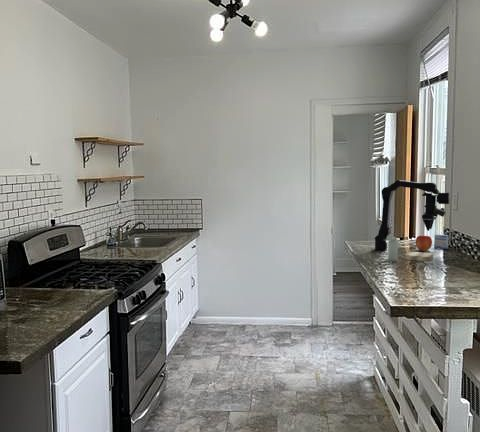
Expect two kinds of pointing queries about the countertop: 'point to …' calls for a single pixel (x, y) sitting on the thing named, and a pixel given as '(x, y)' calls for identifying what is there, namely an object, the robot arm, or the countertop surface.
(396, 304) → the countertop surface
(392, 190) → the robot arm
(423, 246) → the apple
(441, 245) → the medicine box
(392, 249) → the sage bottle
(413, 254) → the birch pad
